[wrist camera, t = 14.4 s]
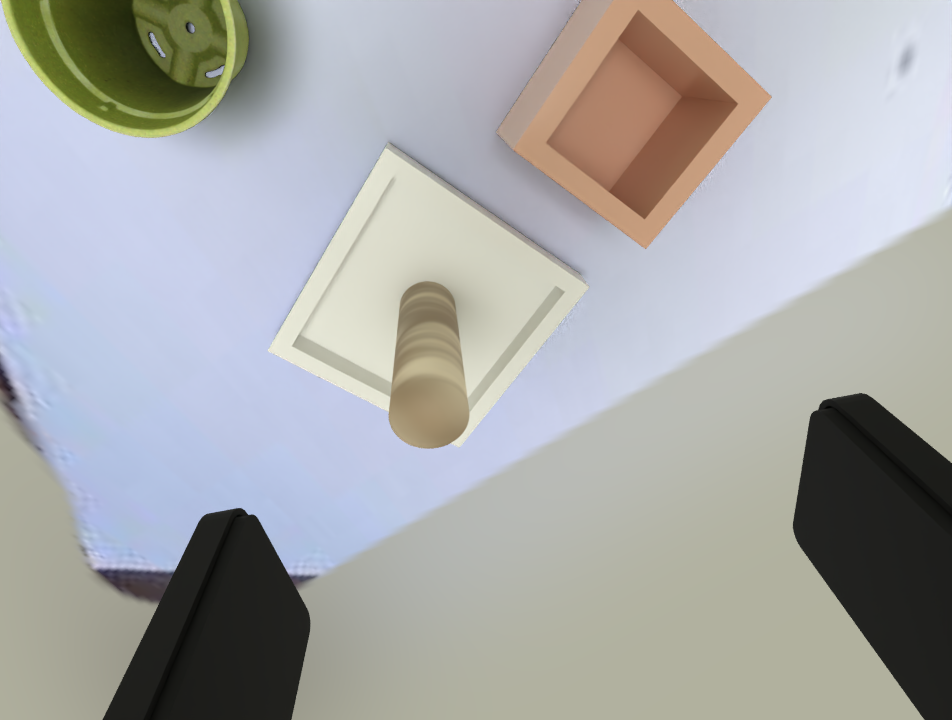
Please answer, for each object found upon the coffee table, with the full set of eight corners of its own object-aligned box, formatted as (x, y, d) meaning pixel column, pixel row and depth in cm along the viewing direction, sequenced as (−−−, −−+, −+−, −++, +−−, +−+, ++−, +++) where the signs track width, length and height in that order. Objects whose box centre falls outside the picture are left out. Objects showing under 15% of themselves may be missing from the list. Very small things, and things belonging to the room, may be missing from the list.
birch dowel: (418, 270, 38) (416, 366, 26) (466, 300, 40) (485, 404, 27) (389, 315, 40) (373, 426, 27) (435, 342, 41) (441, 460, 29)
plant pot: (311, 79, 33) (276, 84, 25) (176, 146, 34) (104, 170, 26) (216, -108, 28) (139, -170, 21) (65, -24, 30) (-59, -54, 22)
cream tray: (388, 142, 35) (385, 147, 32) (580, 274, 40) (589, 287, 38) (276, 334, 40) (267, 350, 38) (457, 428, 46) (459, 447, 43)
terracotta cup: (590, -13, 32) (636, -35, 25) (702, 90, 35) (771, 97, 28) (495, 132, 35) (512, 149, 28) (605, 214, 38) (645, 248, 31)
